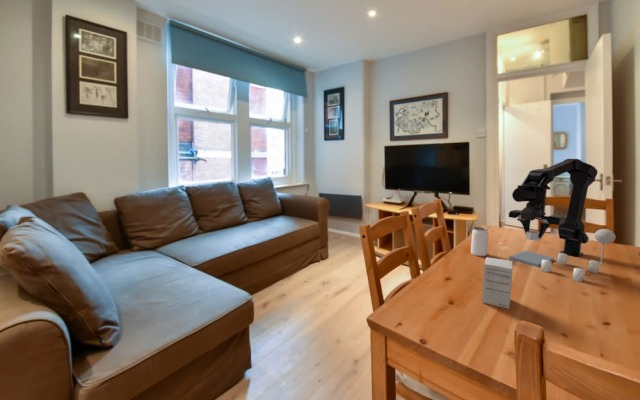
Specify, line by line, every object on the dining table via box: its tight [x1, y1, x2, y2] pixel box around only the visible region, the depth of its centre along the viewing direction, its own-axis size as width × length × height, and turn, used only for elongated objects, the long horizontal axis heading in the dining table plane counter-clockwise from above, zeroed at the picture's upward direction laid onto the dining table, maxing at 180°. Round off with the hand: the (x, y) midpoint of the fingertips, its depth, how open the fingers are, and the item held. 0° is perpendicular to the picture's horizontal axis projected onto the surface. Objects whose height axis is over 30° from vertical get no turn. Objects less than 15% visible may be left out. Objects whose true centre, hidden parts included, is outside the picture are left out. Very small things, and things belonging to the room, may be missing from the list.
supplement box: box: [481, 256, 514, 309], centre depth 90 cm, size 7×7×13 cm
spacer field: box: [540, 252, 601, 283], centre depth 112 cm, size 17×13×4 cm
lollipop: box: [593, 228, 616, 266], centre depth 117 cm, size 6×6×15 cm
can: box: [470, 226, 489, 257], centre depth 132 cm, size 6×6×12 cm
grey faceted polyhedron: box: [525, 230, 542, 241], centre depth 124 cm, size 5×4×3 cm
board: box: [508, 250, 555, 267], centre depth 125 cm, size 14×11×1 cm
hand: (533, 236), depth 124 cm, fingers closed on grey faceted polyhedron, 4 cm apart
